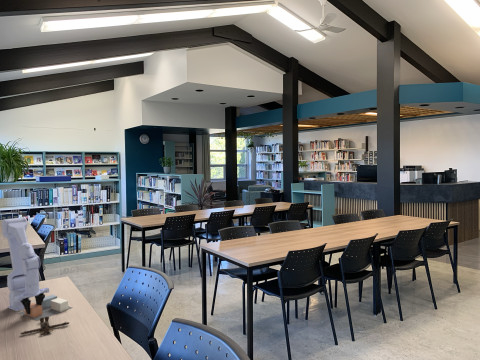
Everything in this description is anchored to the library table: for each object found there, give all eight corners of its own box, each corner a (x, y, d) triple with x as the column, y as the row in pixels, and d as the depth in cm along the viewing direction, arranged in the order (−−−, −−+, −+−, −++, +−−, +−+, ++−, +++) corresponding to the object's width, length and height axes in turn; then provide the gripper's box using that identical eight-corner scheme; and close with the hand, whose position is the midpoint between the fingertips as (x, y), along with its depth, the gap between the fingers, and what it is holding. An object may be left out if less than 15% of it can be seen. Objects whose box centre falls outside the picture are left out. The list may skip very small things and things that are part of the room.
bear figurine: (66, 311, 165) (70, 319, 152) (67, 321, 164) (70, 330, 152) (20, 321, 155) (20, 330, 143) (20, 331, 155) (20, 341, 143)
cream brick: (51, 308, 175) (50, 300, 174) (58, 305, 178) (58, 297, 178) (60, 311, 170) (60, 303, 170) (68, 308, 174) (68, 300, 174)
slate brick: (41, 309, 174) (41, 301, 174) (36, 308, 176) (36, 299, 176) (57, 304, 180) (57, 296, 180) (52, 302, 183) (52, 294, 182)
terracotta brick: (24, 314, 169) (24, 305, 168) (33, 311, 172) (32, 302, 172) (33, 317, 164) (33, 309, 164) (42, 314, 168) (42, 306, 168)
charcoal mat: (18, 313, 170) (17, 313, 170) (53, 301, 184) (53, 301, 184) (37, 321, 161) (37, 320, 161) (73, 308, 175) (72, 307, 175)
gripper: (20, 289, 159) (21, 319, 160) (52, 280, 172) (53, 308, 172) (12, 286, 163) (13, 316, 164) (44, 277, 175) (45, 305, 176)
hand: (33, 312), depth 168 cm, fingers closed on terracotta brick, 4 cm apart
